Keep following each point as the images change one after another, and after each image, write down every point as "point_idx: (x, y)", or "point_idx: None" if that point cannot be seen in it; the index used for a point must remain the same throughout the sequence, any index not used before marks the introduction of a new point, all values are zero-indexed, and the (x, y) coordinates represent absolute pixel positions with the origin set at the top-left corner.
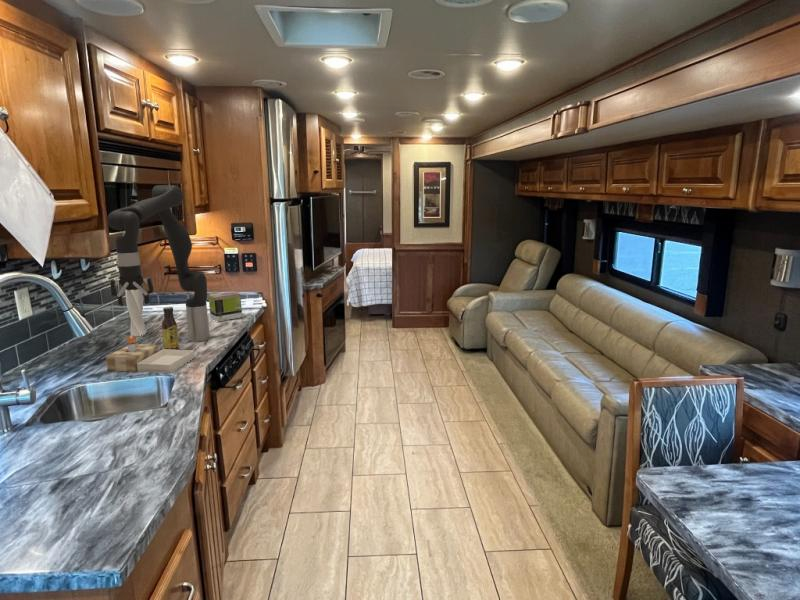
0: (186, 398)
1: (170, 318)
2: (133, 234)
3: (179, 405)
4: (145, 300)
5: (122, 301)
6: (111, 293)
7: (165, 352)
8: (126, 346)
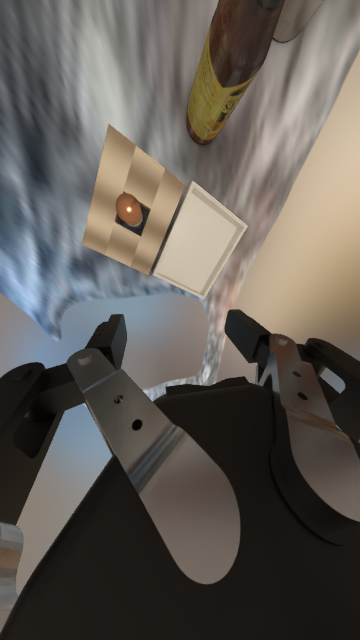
0: (211, 364)
1: (270, 19)
2: None
3: (205, 374)
4: (236, 343)
5: (122, 345)
6: (30, 423)
7: (194, 191)
8: (101, 156)
